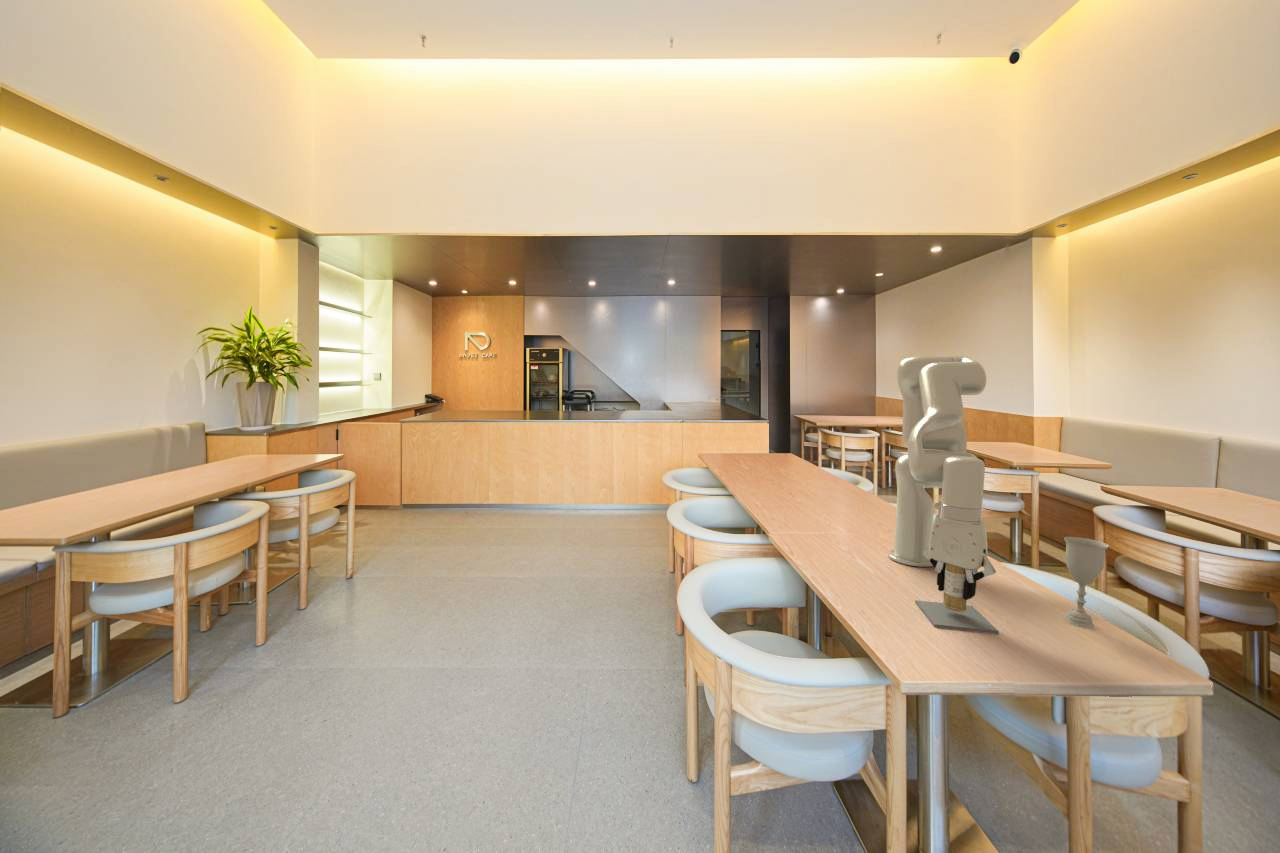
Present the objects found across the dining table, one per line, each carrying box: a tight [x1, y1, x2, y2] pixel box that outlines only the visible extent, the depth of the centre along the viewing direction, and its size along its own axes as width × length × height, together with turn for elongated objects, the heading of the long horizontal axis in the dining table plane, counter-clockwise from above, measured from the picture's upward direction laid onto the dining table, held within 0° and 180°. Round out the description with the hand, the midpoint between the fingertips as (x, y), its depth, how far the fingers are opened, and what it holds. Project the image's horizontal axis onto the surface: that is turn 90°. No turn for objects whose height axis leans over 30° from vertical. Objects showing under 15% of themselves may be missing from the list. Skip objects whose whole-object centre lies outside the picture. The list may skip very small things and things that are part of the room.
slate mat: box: [914, 599, 999, 635], centre depth 107 cm, size 12×12×1 cm
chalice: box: [1063, 536, 1110, 629], centre depth 105 cm, size 7×7×18 cm
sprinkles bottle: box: [942, 564, 968, 612], centre depth 106 cm, size 5×5×13 cm
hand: (955, 593), depth 107 cm, fingers closed on sprinkles bottle, 4 cm apart
